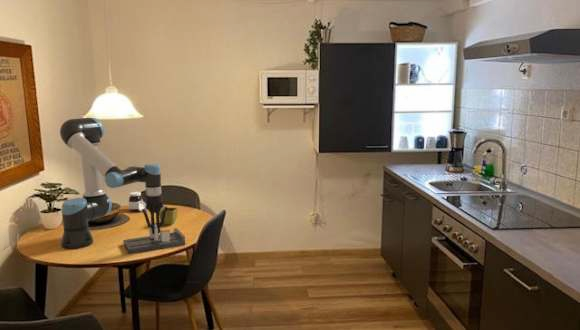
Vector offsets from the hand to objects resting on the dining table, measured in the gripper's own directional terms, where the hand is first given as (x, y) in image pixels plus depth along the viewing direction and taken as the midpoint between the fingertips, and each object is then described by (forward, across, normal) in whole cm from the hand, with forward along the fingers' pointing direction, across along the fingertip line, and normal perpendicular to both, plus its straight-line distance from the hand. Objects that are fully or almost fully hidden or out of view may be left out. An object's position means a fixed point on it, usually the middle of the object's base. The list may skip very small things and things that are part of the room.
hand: (156, 239), depth 237 cm
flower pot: (+4, +16, +37) cm, 41 cm away
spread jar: (+4, +6, +77) cm, 77 cm away
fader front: (+1, +5, 0) cm, 5 cm away
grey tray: (+4, 0, +4) cm, 6 cm away
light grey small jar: (+1, +1, +8) cm, 8 cm away
